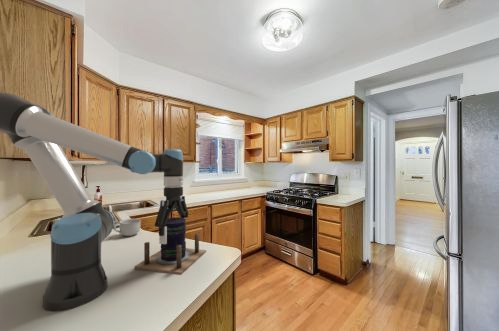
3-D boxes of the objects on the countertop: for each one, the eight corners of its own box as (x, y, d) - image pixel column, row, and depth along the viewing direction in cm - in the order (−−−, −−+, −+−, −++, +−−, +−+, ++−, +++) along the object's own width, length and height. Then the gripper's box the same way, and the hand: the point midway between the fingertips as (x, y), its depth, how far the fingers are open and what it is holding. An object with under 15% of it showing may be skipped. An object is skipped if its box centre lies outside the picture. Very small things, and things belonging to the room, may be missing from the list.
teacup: (137, 230, 127) (137, 217, 127) (143, 234, 119) (143, 220, 119) (110, 235, 117) (110, 221, 117) (115, 240, 109) (115, 225, 109)
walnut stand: (181, 276, 73) (181, 249, 74) (134, 270, 78) (134, 245, 78) (206, 253, 93) (206, 232, 93) (167, 249, 98) (167, 229, 98)
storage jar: (165, 264, 79) (165, 225, 79) (157, 255, 86) (157, 220, 86) (189, 256, 85) (190, 220, 85) (180, 249, 93) (180, 216, 93)
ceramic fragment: (109, 225, 130) (106, 220, 138) (109, 230, 131) (106, 224, 138) (128, 222, 138) (124, 218, 145) (128, 227, 138) (124, 222, 145)
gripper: (162, 190, 73) (162, 250, 73) (196, 184, 97) (196, 229, 97) (144, 189, 74) (143, 248, 74) (181, 183, 99) (181, 228, 99)
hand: (173, 237), depth 86 cm, fingers open, 13 cm apart
